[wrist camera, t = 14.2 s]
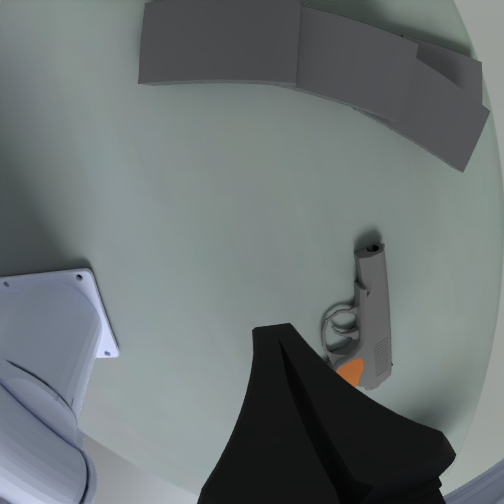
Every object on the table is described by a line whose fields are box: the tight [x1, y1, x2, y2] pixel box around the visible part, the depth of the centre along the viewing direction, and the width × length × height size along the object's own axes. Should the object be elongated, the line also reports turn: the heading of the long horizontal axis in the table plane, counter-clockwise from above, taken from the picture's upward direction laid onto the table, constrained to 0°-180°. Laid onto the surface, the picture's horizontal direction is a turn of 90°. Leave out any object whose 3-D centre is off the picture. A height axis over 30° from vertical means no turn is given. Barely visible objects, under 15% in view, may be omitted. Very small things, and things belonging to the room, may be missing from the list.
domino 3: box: [353, 58, 490, 173], centre depth 16 cm, size 2×5×8 cm
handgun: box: [322, 243, 393, 390], centre depth 26 cm, size 2×16×12 cm
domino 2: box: [276, 6, 419, 122], centre depth 14 cm, size 2×5×8 cm
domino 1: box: [138, 0, 301, 87], centre depth 13 cm, size 2×5×8 cm
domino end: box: [400, 35, 482, 104], centre depth 17 cm, size 2×5×8 cm
